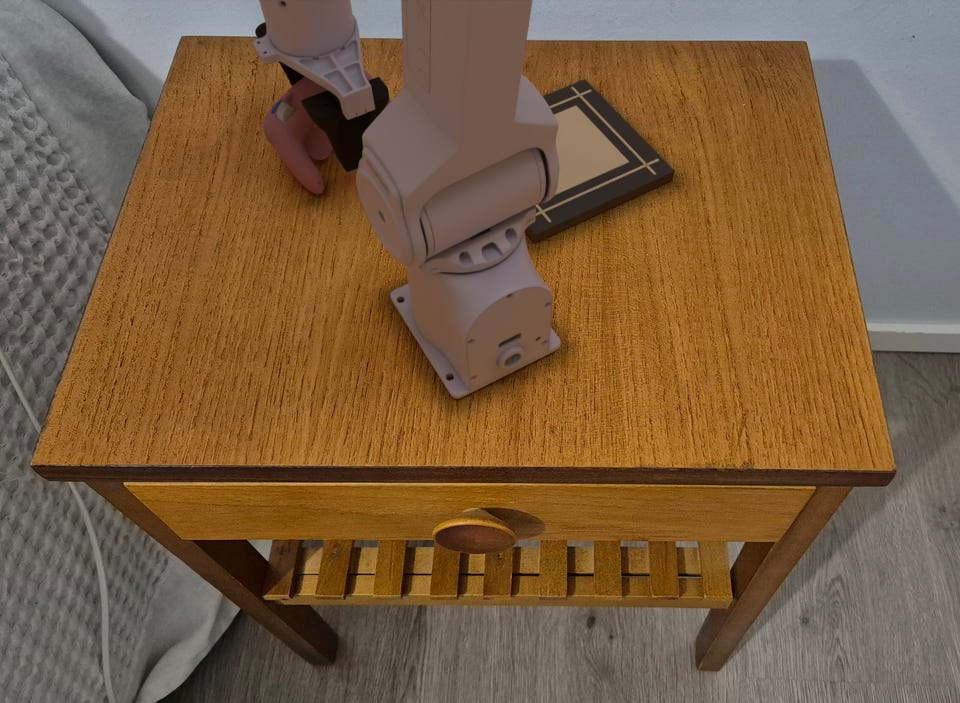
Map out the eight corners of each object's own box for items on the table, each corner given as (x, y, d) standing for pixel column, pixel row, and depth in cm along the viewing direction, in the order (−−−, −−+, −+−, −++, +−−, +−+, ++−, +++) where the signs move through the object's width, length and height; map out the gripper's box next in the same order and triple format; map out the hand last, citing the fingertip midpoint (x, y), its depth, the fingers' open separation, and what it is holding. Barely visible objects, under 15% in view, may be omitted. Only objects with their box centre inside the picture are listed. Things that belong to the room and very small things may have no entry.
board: (672, 180, 60) (675, 169, 59) (534, 243, 57) (534, 233, 56) (584, 88, 66) (585, 77, 65) (454, 142, 63) (453, 131, 62)
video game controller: (382, 127, 67) (343, 45, 63) (414, 130, 63) (376, 45, 59) (289, 193, 63) (242, 111, 59) (318, 201, 60) (270, 114, 55)
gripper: (199, -69, 53) (254, 98, 65) (280, 52, 46) (326, 215, 58) (298, -100, 55) (335, 68, 66) (392, 12, 48) (414, 178, 59)
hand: (336, 134), depth 62 cm, fingers closed on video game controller, 7 cm apart
